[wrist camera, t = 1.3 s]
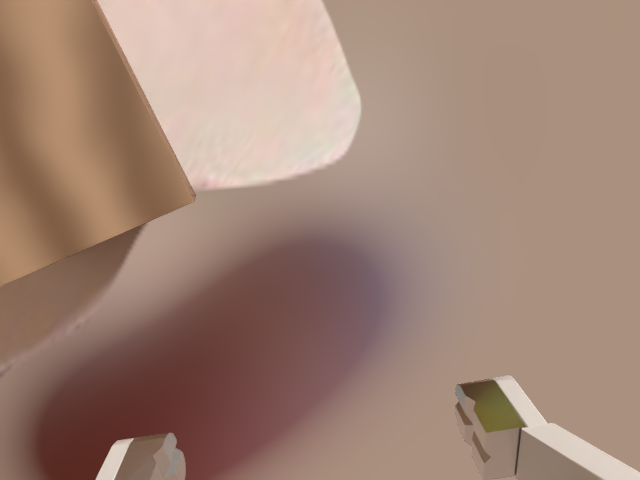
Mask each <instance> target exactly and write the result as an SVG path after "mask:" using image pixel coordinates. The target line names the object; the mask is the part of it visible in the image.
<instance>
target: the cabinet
mask: <svg viewBox="0 0 640 480" xmlns="http://www.w3.org/2000/svg"><path fill="white" fill-rule="evenodd" d="M195 198H196V195H195V193H194V191H193V189H192V187H191V185H190V183H189V181H188V179H187V177H186V175H185V173H184V171H183V169H182V167H181V165H180V163H179V161H178V159H177V157H176V155H175V153H174V151H173V149H172V147H171V145H170V143H169V142H168V140H167V138H166V136H165V134H164V132H163V130H162V128H161V126H160V124H159V122H158V120H157V118H156V116H155V114H154V112H153V110H152V108H151V106H150V104H149V102H148V100H147V98H146V96H145V94H144V92H143V90H142V88H141V86H140V84H139V82H138V80H137V78H136V76H135V74H134V73H133V71H132V69H131V67H130V65H129V63H128V61H127V59H126V57H125V55H124V53H123V51H122V49H121V47H120V45H119V43H118V41H117V39H116V37H115V35H114V33H113V31H112V29H111V27H110V25H109V23H108V21H107V19H106V17H105V15H104V13H103V11H102V9H101V7H100V6H99V4H98V2H97V0H0V286H2V285H4V284H7V283H9V282H11V281H14V280H16V279H18V278H20V277H23V276H25V275H27V274H30V273H32V272H34V271H37V270H39V269H41V268H43V267H46V266H48V265H50V264H53V263H55V262H57V261H59V260H62V259H64V258H66V257H69V256H71V255H73V254H75V253H78V252H80V251H82V250H85V249H87V248H89V247H91V246H94V245H96V244H98V243H101V242H103V241H105V240H107V239H110V238H112V237H114V236H117V235H119V234H121V233H124V232H126V231H128V230H130V229H133V228H135V227H137V226H140V225H142V224H144V223H146V222H149V221H151V220H153V219H156V218H158V217H160V216H162V215H165V214H167V213H169V212H171V211H174V210H176V209H178V208H181V207H183V206H185V205H188V204H190V203H192V202H194V201H195Z"/></svg>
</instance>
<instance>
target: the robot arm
mask: <svg viewBox="0 0 640 480" xmlns="http://www.w3.org/2000/svg"><path fill="white" fill-rule="evenodd" d="M455 395H456V396H457V399H458V401H459V402H458V403H457V404H456V406H455V410H456V419H457V423H458V426H459V429H460V432H461V434H462V436H463V439H464V441H465V442H466V443H468V444H469V445H471V446H472V458H473V460H474V462H475V464H476V466H477V468H478V470H479V472H480V474H481V476H482V478H483V480H490V479H498V478H505V477H512V476H516V478H517V479H518V480H640V472H638V471H636V470H635V469H633V468H631V467H629V466H628V465H626V464H624V463H622V462H621V461H619V460H617V459H615V458H613V457H612V456H610V455H608V454H607V453H605V452H603V451H601V450H599V449H598V448H596V447H594V446H592V445H591V444H589V443H587V442H586V441H583V440H582V439H580V438H579V437H576V436H575V435H573V434H572V433H570V432H568V431H566V430H565V429H563V428H561V427H559V426H558V425H556V424H554V423H549V424H547V422H546V421H545V420H544V418H543V417H542V416H541V414H540V413H539V412H538V410H537V409H536V408H535V406H534V405H533V404H532V402H531V401H530V400H529V398H528V397H527V396H526V394H525V393H524V392H523V391H522V389H521V388H520V386H519V385H518V384H517V382H516V381H515V380H514V378H513V377H511V376H503V377H498V378H492V379H484V380H479V381H474V382H467V383H462V384H457V385H456V388H455ZM176 442H177V440H176V438H175V436H174V434H173V433H166V434H159V435H152V436H145V437H138V438H133V439H125V440H118V441H117V442H116V443H115V444H114V445H113V446H112V447H111V449H110V451H109V453H108V455H107V457H106V459H105V461H104V463H103V466H102V468H101V470H100V472H99V474H98V476H97V478H96V480H185V470H186V464H185V459H184V456H183V453H182V451H180V450H178V449H176V448H175V446H176Z"/></svg>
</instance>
